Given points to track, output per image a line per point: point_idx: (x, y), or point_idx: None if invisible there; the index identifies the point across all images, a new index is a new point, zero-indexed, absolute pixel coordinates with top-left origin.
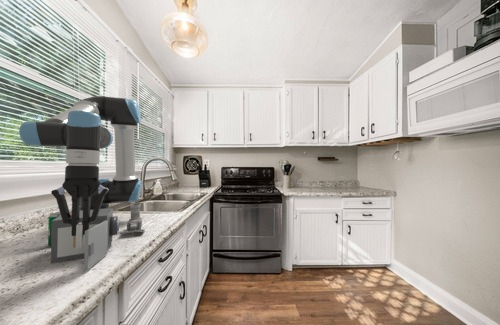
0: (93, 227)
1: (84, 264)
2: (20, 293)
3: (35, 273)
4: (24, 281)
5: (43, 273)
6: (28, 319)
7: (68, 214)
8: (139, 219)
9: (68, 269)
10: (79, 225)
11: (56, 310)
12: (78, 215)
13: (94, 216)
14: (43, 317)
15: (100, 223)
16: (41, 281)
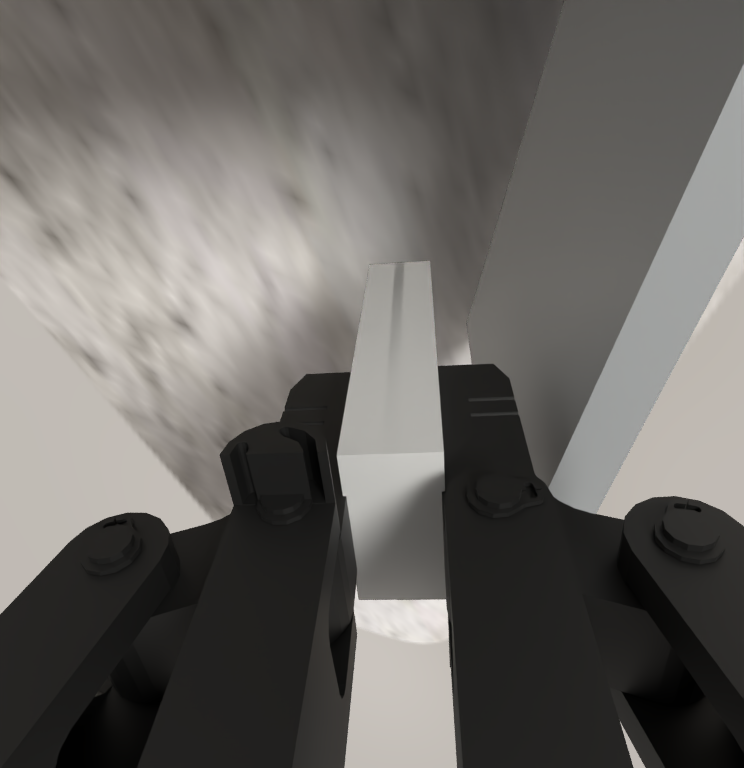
0: (598, 444)
1: (471, 345)
2: (198, 434)
3: (83, 165)
4: (105, 286)
5: (152, 194)
6: (369, 627)
7: (60, 705)
8: None
9: (320, 196)
10: (405, 591)
11: (447, 618)
12: (327, 700)
13: (706, 745)
14: (417, 636)
15: (732, 135)
16: (225, 333)
